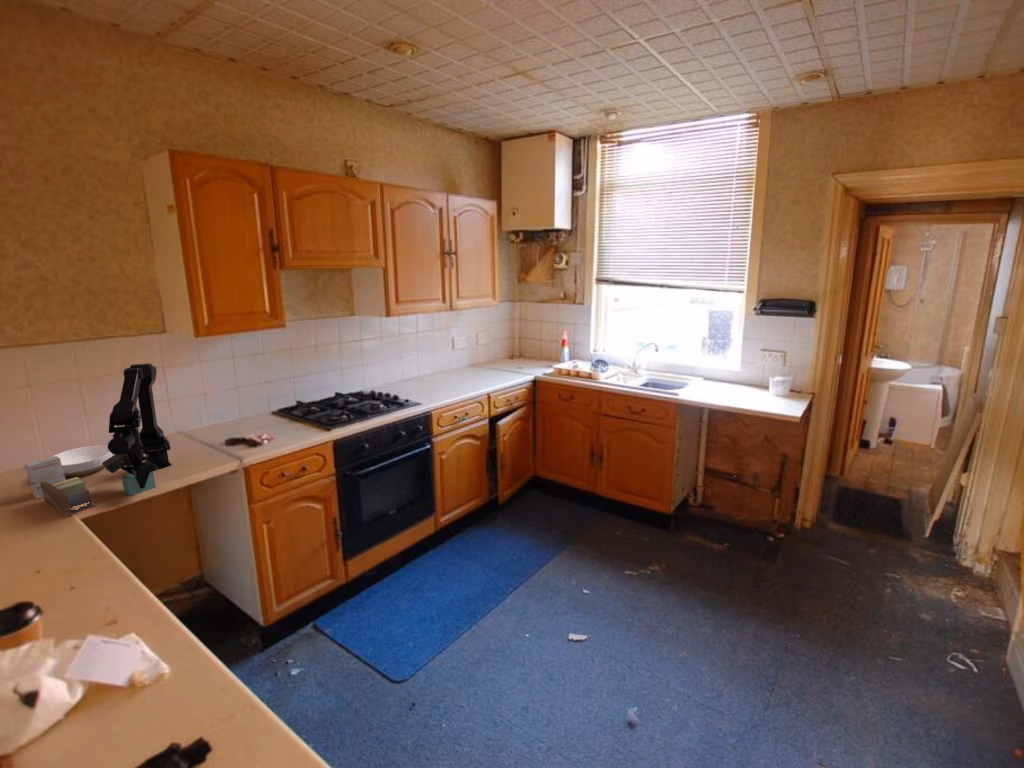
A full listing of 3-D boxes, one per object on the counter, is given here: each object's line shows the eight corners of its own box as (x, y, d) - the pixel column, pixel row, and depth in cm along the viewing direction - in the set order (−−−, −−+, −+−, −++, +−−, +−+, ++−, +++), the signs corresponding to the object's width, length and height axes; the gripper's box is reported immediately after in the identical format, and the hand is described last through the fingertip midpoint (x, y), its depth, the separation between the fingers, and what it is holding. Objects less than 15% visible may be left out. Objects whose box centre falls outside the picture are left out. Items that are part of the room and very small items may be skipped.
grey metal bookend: (91, 501, 176) (88, 489, 175) (96, 505, 174) (93, 492, 173) (64, 510, 171) (61, 497, 170) (70, 514, 168) (67, 501, 167)
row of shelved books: (80, 491, 184) (77, 476, 182) (87, 496, 180) (84, 481, 179) (51, 500, 177) (47, 485, 176) (58, 505, 174) (54, 490, 173)
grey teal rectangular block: (150, 484, 189) (147, 468, 187) (155, 487, 186) (152, 471, 185) (124, 492, 182) (121, 476, 181) (129, 495, 180) (126, 479, 179)
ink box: (64, 486, 188) (56, 454, 185) (68, 490, 185) (60, 458, 182) (32, 495, 182) (24, 462, 179) (36, 499, 179) (27, 466, 176)
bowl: (103, 477, 195) (99, 461, 193) (39, 484, 190) (34, 468, 188) (124, 457, 213) (121, 443, 212) (66, 463, 208) (62, 448, 206)
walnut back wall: (50, 500, 178) (45, 480, 176) (71, 515, 167) (66, 495, 166) (44, 501, 177) (39, 482, 175) (66, 517, 166) (60, 496, 164)
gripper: (91, 446, 179) (101, 488, 183) (114, 457, 169) (124, 502, 173) (129, 436, 188) (137, 477, 192) (153, 446, 177) (162, 489, 181)
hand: (139, 486), depth 184 cm, fingers closed on grey teal rectangular block, 4 cm apart
